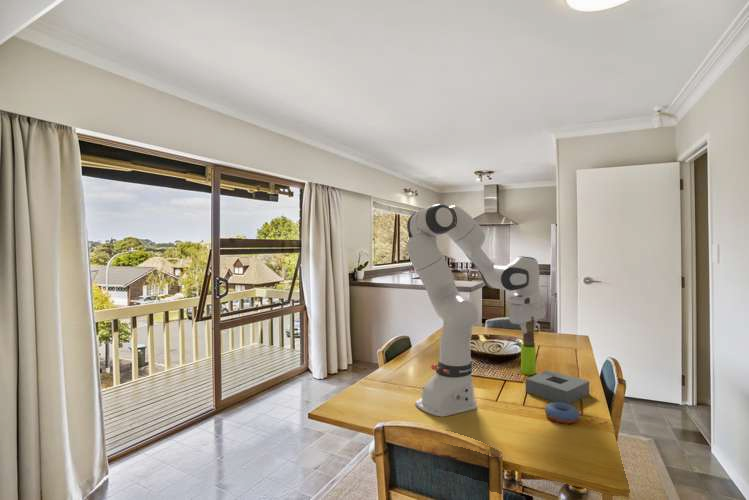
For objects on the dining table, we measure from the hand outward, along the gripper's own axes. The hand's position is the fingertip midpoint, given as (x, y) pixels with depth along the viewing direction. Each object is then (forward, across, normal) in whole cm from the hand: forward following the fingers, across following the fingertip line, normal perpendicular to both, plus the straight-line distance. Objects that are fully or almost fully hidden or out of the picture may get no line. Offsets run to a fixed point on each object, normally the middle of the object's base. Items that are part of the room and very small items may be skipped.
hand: (528, 332), depth 152 cm
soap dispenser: (+22, -14, -8) cm, 27 cm away
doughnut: (+22, +17, +22) cm, 35 cm away
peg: (+6, 0, 0) cm, 6 cm away
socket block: (+22, -1, +10) cm, 24 cm away
